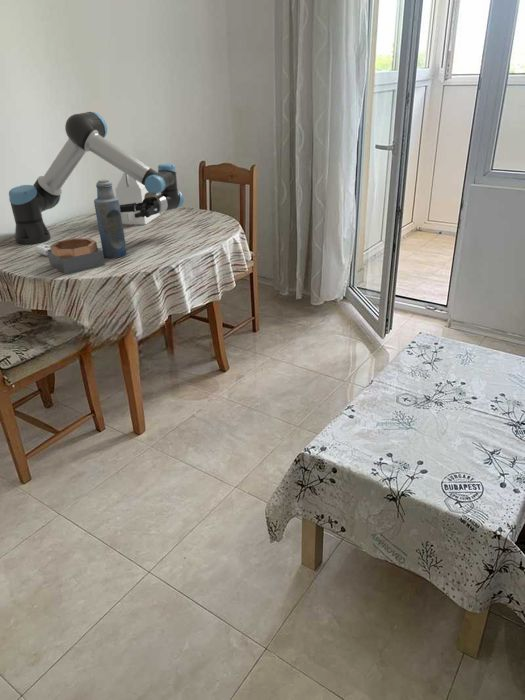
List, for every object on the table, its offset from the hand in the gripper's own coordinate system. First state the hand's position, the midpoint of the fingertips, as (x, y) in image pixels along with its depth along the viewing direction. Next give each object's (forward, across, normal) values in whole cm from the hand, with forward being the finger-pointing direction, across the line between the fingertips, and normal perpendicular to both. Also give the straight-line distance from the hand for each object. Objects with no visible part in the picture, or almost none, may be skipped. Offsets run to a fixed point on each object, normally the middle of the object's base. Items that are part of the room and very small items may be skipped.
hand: (116, 215), depth 214 cm
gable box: (-45, +37, -16) cm, 61 cm away
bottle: (+3, +1, -16) cm, 16 cm away
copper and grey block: (+20, +3, -16) cm, 26 cm away
